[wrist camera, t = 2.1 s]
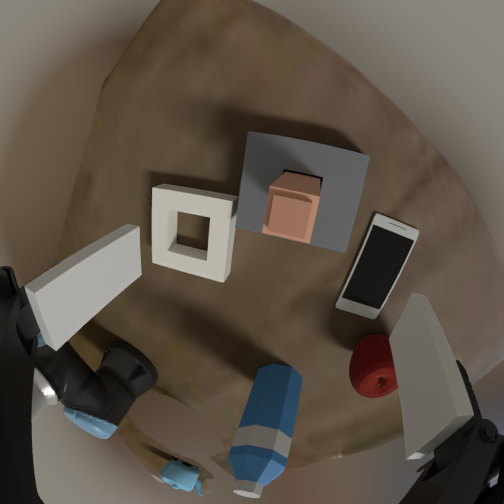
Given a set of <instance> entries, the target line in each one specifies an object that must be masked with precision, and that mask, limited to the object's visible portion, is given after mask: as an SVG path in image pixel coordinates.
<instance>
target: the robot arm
mask: <svg viewBox="0 0 504 504" xmlns="http://www.w3.org/2000/svg"><path fill="white" fill-rule="evenodd" d="M141 275H142V274H141V258H140V230H139V226H135V225H131V224H126V225H124V226H123V227H121V228H119V229H117V230H115V231H113V232H111V233H110V234H108V235H106V236H104V237H102V238H101V239H99V240H97V241H95V242H94V243H92V244H90V245H88V246H87V247H85V248H83V249H82V250H80V251H78V252H77V253H75V254H73V255H72V256H70V257H68V258H67V259H65V260H63V261H62V262H59V263H57V264H56V265H54V266H53V267H51V268H50V269H48V270H46V271H45V272H44V273H42V274H40V275H39V276H37V277H36V278H34V279H33V280H31V281H30V282H28V283H27V284H25V285H24V286H22V287H21V288H19V287H18V284H17V281H16V277H15V274H14V270H13V268H12V267H10V266H3V267H0V504H44V503H43V501H42V500H41V498H40V497H39V495H38V492H37V488H36V482H35V474H34V465H33V453H32V422H33V421H34V420H35V418H36V417H37V416H38V414H39V413H40V412H41V411H42V410H43V408H44V407H45V406H46V405H47V404H52V405H56V404H57V403H58V402H59V401H61V403H62V404H63V405H64V406H65V407H64V408H63V409H64V410H63V413H64V414H65V415H66V416H67V417H68V419H70V420H71V421H72V422H73V423H75V424H76V425H78V426H79V427H80V428H82V429H83V430H85V431H86V432H88V433H90V434H92V435H94V436H96V437H99V438H102V439H106V438H109V437H110V436H111V435H112V433H113V432H114V431H115V429H117V428H118V426H119V424H120V423H121V421H122V420H123V418H124V417H125V415H126V414H127V412H128V411H129V409H130V408H131V406H132V405H133V403H134V402H135V400H136V399H137V398H138V397H140V396H141V395H143V394H144V393H146V392H147V391H149V390H150V389H152V388H153V387H154V385H155V384H156V382H157V380H158V375H157V372H156V369H155V368H154V366H153V365H152V363H151V362H150V361H149V360H148V359H147V358H146V357H145V356H144V355H143V354H142V353H141V352H139V351H138V350H137V349H135V348H134V347H132V346H130V345H128V344H126V343H123V342H118V341H116V342H112V343H111V344H110V345H109V346H108V348H107V349H106V351H105V353H104V356H103V358H102V361H101V364H100V366H99V368H98V370H97V371H96V372H94V371H93V370H92V369H91V368H90V367H89V366H88V365H87V364H86V362H85V361H84V360H83V359H82V358H81V357H80V356H79V354H78V353H77V352H76V351H75V350H74V348H73V347H72V346H71V345H70V344H69V341H68V340H69V339H70V338H71V337H72V336H73V335H74V334H75V333H76V332H77V331H78V330H79V329H80V328H81V327H82V326H84V325H85V324H86V323H87V322H88V321H89V320H90V319H91V318H92V317H93V316H95V315H96V314H97V313H98V312H99V311H100V310H101V309H102V308H103V307H105V306H106V305H107V304H108V303H109V302H110V301H111V300H113V299H114V298H115V297H116V296H117V295H118V294H119V293H121V292H122V291H123V290H124V289H125V288H126V287H128V286H129V285H130V284H131V283H132V282H133V281H135V280H136V279H137V278H138V277H139V276H141ZM40 332H41V334H40V335H38V334H39V333H40ZM37 335H38V336H37ZM389 342H390V346H391V351H392V356H393V361H394V366H395V372H396V377H397V383H398V389H399V395H400V402H401V410H402V418H403V426H404V436H405V449H406V459H420V458H424V457H425V456H427V455H428V454H430V453H431V452H432V451H434V456H435V457H434V458H433V459H432V460H430V461H429V462H427V463H426V464H424V465H423V466H421V467H420V468H419V469H418V470H417V472H420V471H421V470H423V469H424V468H425V469H424V471H423V472H422V474H421V475H420V477H419V478H418V479H417V481H416V482H415V484H414V485H413V486H412V487H411V489H410V491H409V492H408V493H407V494H406V495H405V497H404V498H403V499H402V500H401V502H400V503H399V504H504V436H503V435H499V434H498V430H497V428H496V426H495V425H494V424H493V423H492V422H491V421H490V420H488V419H482V416H481V413H480V409H479V407H478V403H477V400H476V397H475V394H474V392H473V390H472V386H471V383H470V382H469V377H468V375H467V372H466V370H465V368H464V367H463V366H462V364H461V363H460V362H459V360H455V358H454V355H453V353H452V350H451V348H450V346H449V343H448V341H447V339H446V337H445V334H444V332H443V330H442V328H441V326H440V323H439V321H438V319H437V317H436V315H435V313H434V311H433V309H432V307H431V305H430V303H429V301H428V299H427V297H426V295H421V294H417V293H413V292H412V294H411V296H410V298H409V300H408V302H407V305H406V307H405V309H404V311H403V313H402V315H401V317H400V319H399V321H398V322H397V324H396V326H395V328H394V330H393V332H392V334H391V336H390V337H389ZM497 477H498V482H497V484H496V485H494V486H492V487H490V482H491V481H493V480H494V479H496V478H497Z"/></svg>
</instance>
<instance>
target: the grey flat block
mask: <svg viewBox="0 0 504 504" xmlns="http://www.w3.org/2000/svg"><path fill="white" fill-rule="evenodd" d="M369 158H370V156H368V155H365V154H361V153H358V152H354V151H350V150H346V149H342V148H338V147H334V146H329V145H325V144H320V143H316V142H311V141H306V140H301V139H296V138H290V137H285V136H279V135H273V134H266V133H259V132H252V131H248V135H247V142H246V149H245V156H244V163H243V170H242V178H241V185H240V192H239V200H238V208H237V216H236V224H235V228H239V229H244V230H248V231H253V232H257V233H262V230H263V224H264V218H265V212H266V206H267V200H268V194H269V188H270V185H271V184H272V183H274V182H275V181H276V180H277V179H278V178H279V177H280V176H281V175H283V174H284V173H285V172H286V171H287V170H292V171H297V172H302V173H306V174H311V175H315V176H320V177H322V181H321V186H320V199H319V204H318V208H317V213H316V217H315V222H314V226H313V230H312V235H311V239H310V243H305V244H309V245H314V246H318V247H322V248H326V249H331V250H335V251H339V252H343V253H346V250H347V246H348V243H349V239H350V236H351V232H352V229H353V225H354V222H355V218H356V214H357V210H358V206H359V202H360V198H361V194H362V190H363V186H364V181H365V177H366V172H367V168H368V163H369ZM262 234H265V233H262ZM266 235H270V234H266ZM270 236H274V235H270ZM275 237H278V236H275ZM279 238H283V237H279ZM284 239H287V238H284ZM288 240H291V239H288ZM292 241H296V240H292ZM297 242H300V241H297ZM301 243H304V242H301Z"/></svg>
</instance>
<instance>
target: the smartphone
mask: <svg viewBox="0 0 504 504" xmlns="http://www.w3.org/2000/svg"><path fill="white" fill-rule="evenodd" d="M418 235H419V231H418V229H415V228H413V227H411V226H408V225H406V224H404V223H401V222H399V221H396V220H394V219H391V218H389V217H386V216H384V215H381V214H379V213H376V214H375V215H374V217H373V219H372V222H371V224H370V227H369V230H368V232H367V235H366V237H365V239H364V242H363V244H362V247H361V249H360V251H359V254H358V256H357V258H356V261H355V263H354V265H353V268H352V270H351V272H350V274H349V276H348V279H347V281H346V283H345V285H344V287H343V289H342V291H341V294H340V296H339V298H338V300H337V302H336V308H338V309H341V310H344V311H348V312H351V313H354V314H357V315H360V316H364V317H367V318H370V319H375V318H376V317H377V316H378V314H379V312H380V311H381V309H382V307H383V305H384V304H385V302H386V300H387V298H388V296H389V295H390V293H391V291H392V289H393V287H394V285H395V283H396V281H397V279H398V277H399V276H400V274H401V272H402V270H403V267H404V265H405V263H406V261H407V259H408V257H409V255H410V253H411V251H412V248H413V246H414V244H415V242H416V239H417V237H418Z"/></svg>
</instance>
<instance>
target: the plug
mask: <svg viewBox="0 0 504 504" xmlns="http://www.w3.org/2000/svg"><path fill="white" fill-rule="evenodd" d="M319 199H320V176H315V175H311V174H306V173H302V172H297V171H292V170H287V171H286V172H285V173H284V174H283V175H281V176H280V177H279V178H278V179H277V180H276V181H275V182H274V183H272V184H271V185H270V188H269V194H268V200H267V206H266V212H265V218H264V224H263V230H262V233H265V234H270V235H274V236H278V237H283V238H287V239H291V240H296V241H300V242H304V243H310V239H311V235H312V230H313V226H314V222H315V217H316V213H317V208H318V204H319Z"/></svg>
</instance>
